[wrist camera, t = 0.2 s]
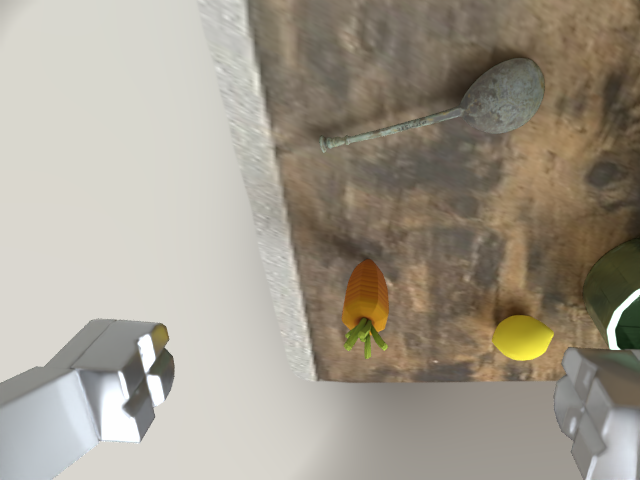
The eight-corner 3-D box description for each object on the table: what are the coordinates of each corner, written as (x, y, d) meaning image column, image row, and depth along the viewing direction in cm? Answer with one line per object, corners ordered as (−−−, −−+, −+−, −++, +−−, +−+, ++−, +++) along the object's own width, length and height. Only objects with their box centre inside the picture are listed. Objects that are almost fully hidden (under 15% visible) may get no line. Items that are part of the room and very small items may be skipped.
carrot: (397, 256, 54) (400, 345, 41) (374, 283, 56) (371, 375, 43) (361, 236, 53) (353, 321, 40) (340, 265, 55) (326, 353, 43)
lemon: (490, 341, 59) (498, 373, 54) (485, 310, 56) (494, 340, 52) (547, 334, 57) (561, 366, 52) (545, 301, 54) (560, 332, 50)
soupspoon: (543, 116, 44) (538, 47, 41) (556, 125, 41) (551, 50, 38) (329, 169, 49) (312, 110, 46) (326, 180, 46) (308, 118, 43)
